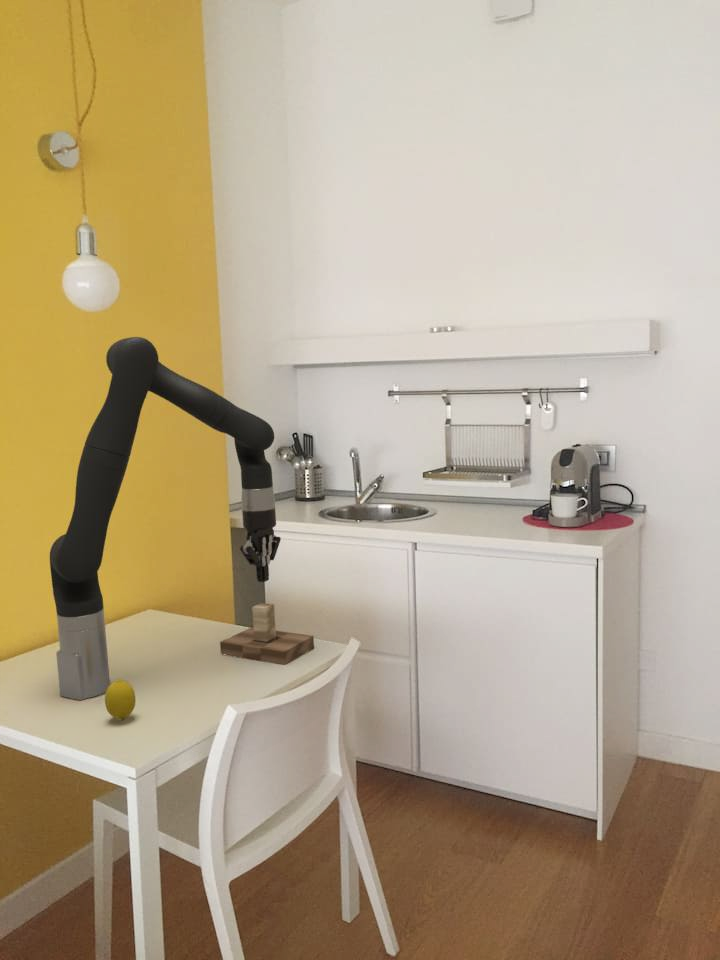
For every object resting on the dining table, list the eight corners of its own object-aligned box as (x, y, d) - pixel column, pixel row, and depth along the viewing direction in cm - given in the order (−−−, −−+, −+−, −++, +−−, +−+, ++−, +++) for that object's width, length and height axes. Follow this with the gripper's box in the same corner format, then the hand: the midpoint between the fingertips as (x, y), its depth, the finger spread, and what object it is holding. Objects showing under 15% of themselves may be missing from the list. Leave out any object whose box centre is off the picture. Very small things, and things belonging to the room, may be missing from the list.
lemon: (138, 722, 155) (134, 682, 154) (107, 728, 154) (104, 687, 152) (135, 711, 161) (132, 672, 159) (106, 717, 159) (102, 677, 158)
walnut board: (284, 664, 183) (284, 651, 183) (220, 654, 192) (220, 642, 191) (314, 648, 193) (313, 635, 193) (252, 639, 202) (251, 627, 202)
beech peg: (267, 655, 190) (264, 608, 189) (254, 652, 192) (251, 607, 191) (277, 649, 193) (274, 604, 192) (264, 648, 195) (261, 602, 194)
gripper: (254, 512, 181) (259, 589, 183) (288, 503, 192) (292, 575, 194) (227, 511, 184) (232, 586, 187) (262, 501, 196) (266, 573, 198)
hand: (263, 581), depth 190 cm, fingers closed
